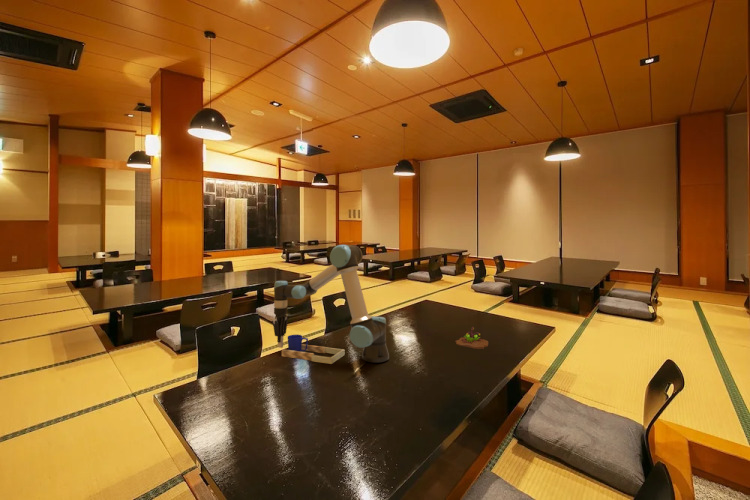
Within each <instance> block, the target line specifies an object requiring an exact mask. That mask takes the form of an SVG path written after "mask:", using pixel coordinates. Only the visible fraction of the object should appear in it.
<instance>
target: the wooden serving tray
mask: <svg viewBox="0 0 750 500" xmlns="http://www.w3.org/2000/svg"><path fill="white" fill-rule="evenodd" d="M305 348H306V343H305V344H303V343H302V350H305ZM325 348H326V346H322V345H321V346H320V345H314V344H313V345H312V344H308V346H307V349H306V351H304V352H303V351H301V352H300V351H293V350H288V349H285V348H284V349H283V348H282V349H281V357H285V358H290V359H292V358H293V359H300V360H306V361H312V355H315V353H319V354H326V353H325Z"/></svg>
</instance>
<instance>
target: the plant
mask: <svg viewBox="0 0 750 500" xmlns="http://www.w3.org/2000/svg"><path fill="white" fill-rule="evenodd" d="M474 329H475V328H474V326H472V327H471V329H470V331H468V332H466V334H465V335H464V336H463V337H460V338H459V339H456V340H455V344H456V345H458V346H459V347H466V348H471V349H473V350H475V349H476V350H481V349H482V350H484V349H485V348H487V347H489V341H488V340H486V339H483V338H481V333H480V332H476V331H475V332H473V330H474Z"/></svg>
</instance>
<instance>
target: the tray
mask: <svg viewBox="0 0 750 500" xmlns="http://www.w3.org/2000/svg"><path fill="white" fill-rule="evenodd" d="M345 351H346V350H345V349H343V348H334V347H326V346H325V353H324V354H326V353H327V354H332V356H323V355H316V354H314V355H312V360H311V362H316V363H323V364H330V365H332V364H334V363H335V362H336V361H338V360H340V359H341V358H342V357H343V356H345V353H346V352H345Z"/></svg>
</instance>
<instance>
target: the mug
mask: <svg viewBox="0 0 750 500" xmlns="http://www.w3.org/2000/svg"><path fill="white" fill-rule="evenodd" d="M303 340H305V341H306V343H305V345H306V348H305V350H302V344H303ZM308 343H309V338H307V337H303V335H301V334H291V335H288V336H287V347H288V348H287V350H293V351H300V352H307V351H306V349H307V346H308V345H309V344H308Z"/></svg>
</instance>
